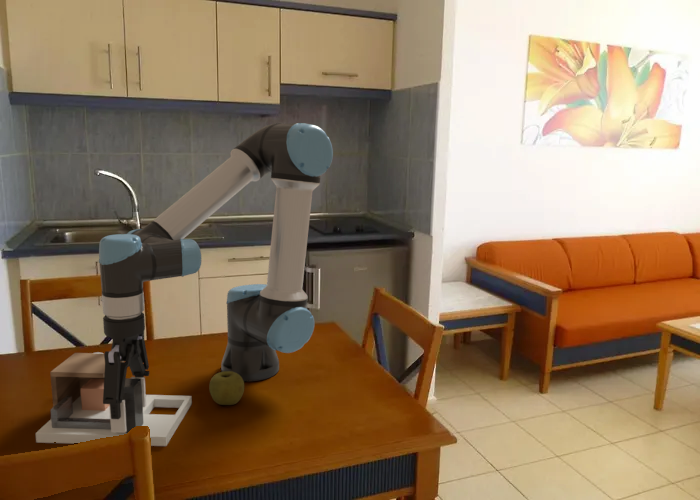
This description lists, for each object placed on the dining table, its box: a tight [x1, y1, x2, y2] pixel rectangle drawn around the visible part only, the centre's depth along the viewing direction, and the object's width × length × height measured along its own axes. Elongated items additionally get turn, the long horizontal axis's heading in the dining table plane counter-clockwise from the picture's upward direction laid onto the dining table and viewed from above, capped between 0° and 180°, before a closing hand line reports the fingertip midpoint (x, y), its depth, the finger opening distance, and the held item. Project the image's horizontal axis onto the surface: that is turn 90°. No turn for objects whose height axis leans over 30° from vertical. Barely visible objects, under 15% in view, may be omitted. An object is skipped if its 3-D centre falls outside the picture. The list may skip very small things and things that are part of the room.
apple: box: [208, 371, 245, 406], centre depth 129 cm, size 8×8×7 cm
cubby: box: [50, 352, 125, 408], centre depth 122 cm, size 11×10×10 cm
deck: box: [35, 394, 193, 447], centre depth 120 cm, size 26×18×2 cm
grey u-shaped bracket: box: [50, 377, 143, 433], centre depth 114 cm, size 18×8×10 cm, turn 90°
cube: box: [81, 379, 110, 411], centre depth 123 cm, size 5×5×5 cm
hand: (129, 418), depth 113 cm, fingers open, 10 cm apart
